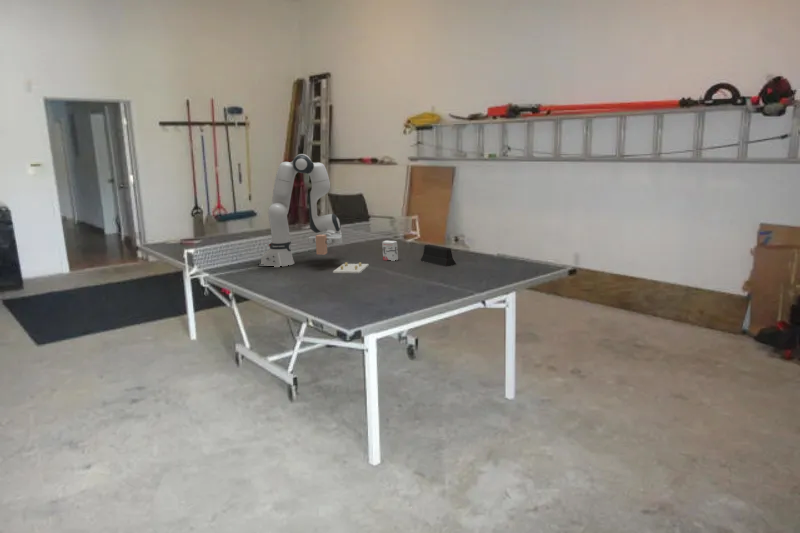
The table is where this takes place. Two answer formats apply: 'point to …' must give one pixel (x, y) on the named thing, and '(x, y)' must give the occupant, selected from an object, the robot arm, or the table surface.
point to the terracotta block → (321, 244)
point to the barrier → (438, 255)
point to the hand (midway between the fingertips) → (321, 242)
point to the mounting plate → (351, 268)
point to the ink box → (390, 250)
